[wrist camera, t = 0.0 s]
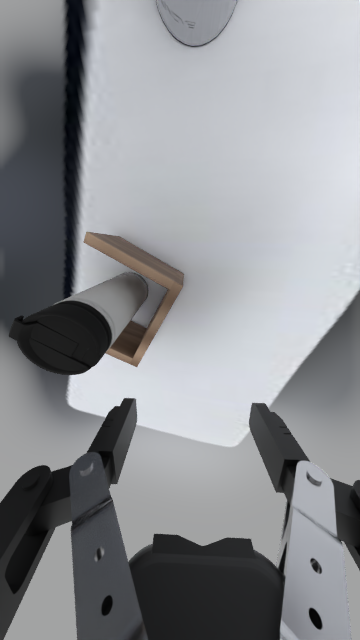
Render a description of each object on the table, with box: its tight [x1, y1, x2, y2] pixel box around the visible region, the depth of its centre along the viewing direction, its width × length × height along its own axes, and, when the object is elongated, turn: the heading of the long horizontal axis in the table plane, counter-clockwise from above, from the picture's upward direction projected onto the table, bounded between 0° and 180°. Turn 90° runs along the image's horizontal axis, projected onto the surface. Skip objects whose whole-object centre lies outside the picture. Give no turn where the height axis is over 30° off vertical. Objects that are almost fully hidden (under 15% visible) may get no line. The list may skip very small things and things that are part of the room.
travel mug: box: [9, 272, 148, 375], centre depth 22 cm, size 6×7×20 cm
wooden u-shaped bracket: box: [84, 232, 184, 367], centre depth 27 cm, size 14×12×10 cm
